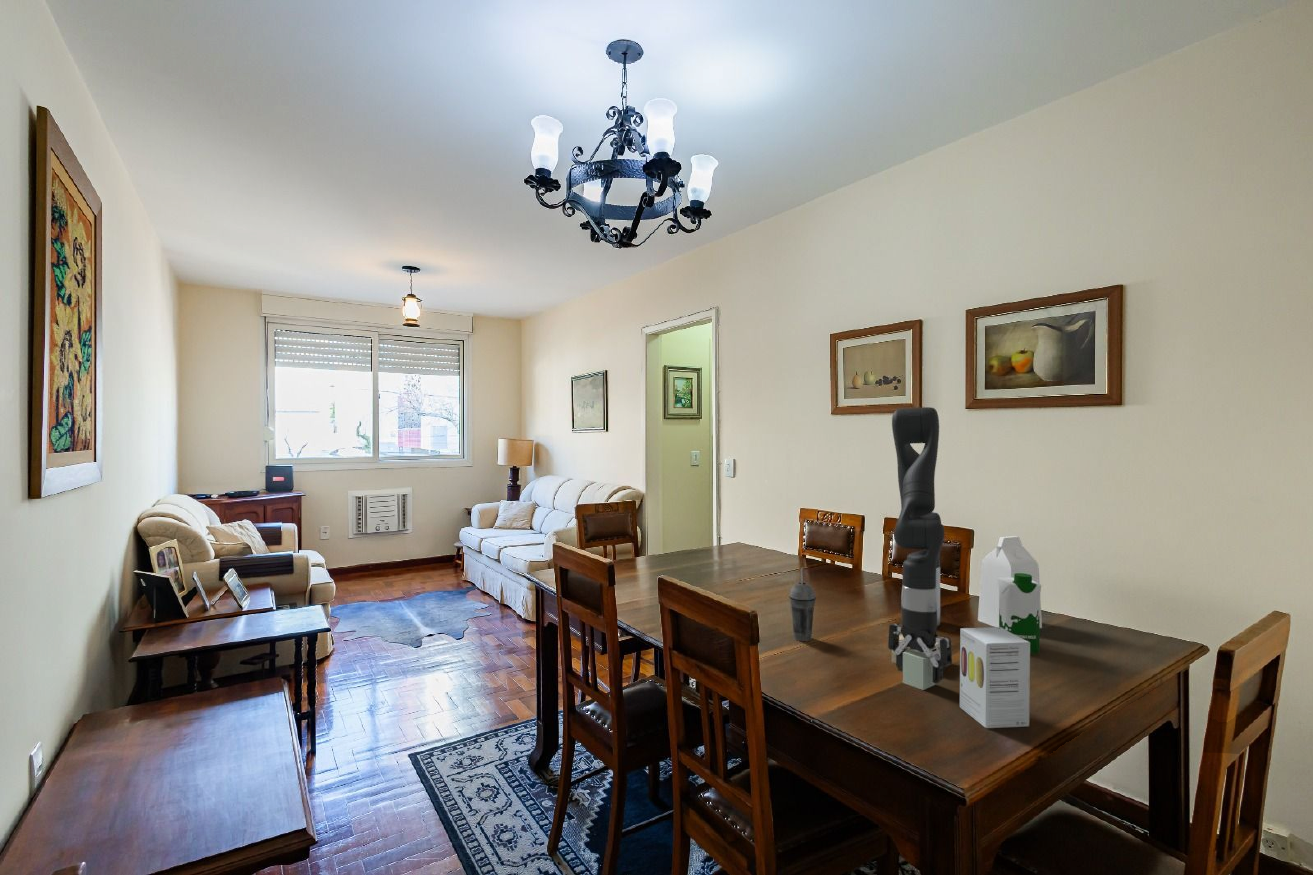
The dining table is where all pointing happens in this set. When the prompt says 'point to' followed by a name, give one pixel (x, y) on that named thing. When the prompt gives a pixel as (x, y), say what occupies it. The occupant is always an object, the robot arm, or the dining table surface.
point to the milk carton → (1020, 608)
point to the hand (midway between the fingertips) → (918, 676)
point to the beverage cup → (802, 609)
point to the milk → (1003, 575)
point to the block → (917, 669)
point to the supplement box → (995, 677)
